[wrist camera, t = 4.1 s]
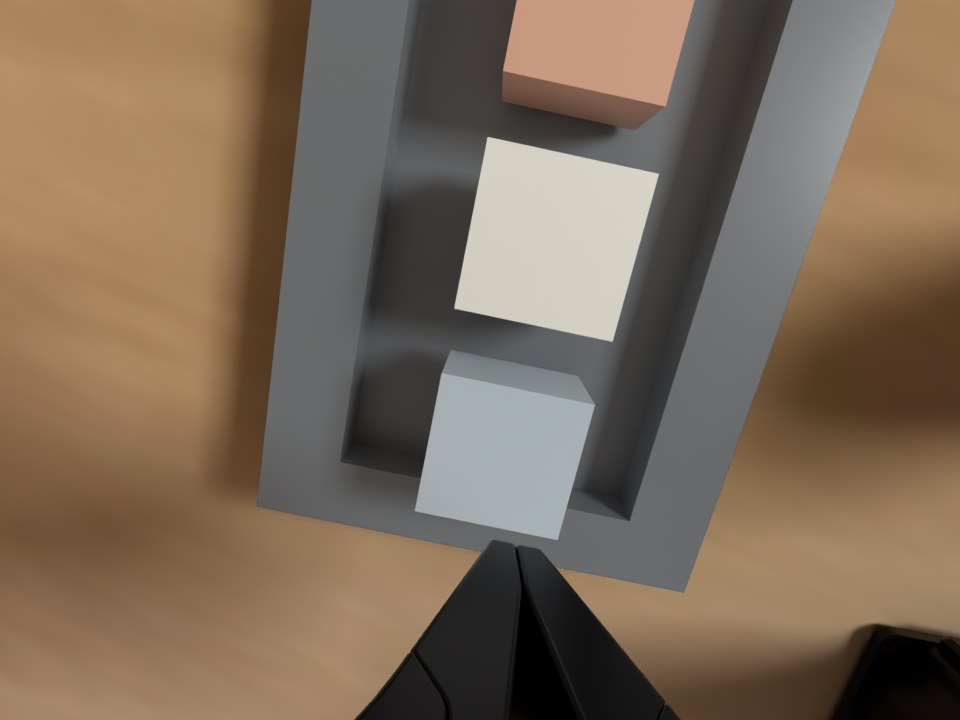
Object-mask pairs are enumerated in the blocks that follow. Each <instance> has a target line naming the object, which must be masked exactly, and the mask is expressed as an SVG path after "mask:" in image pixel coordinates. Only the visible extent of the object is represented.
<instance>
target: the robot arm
mask: <svg viewBox="0 0 960 720" xmlns="http://www.w3.org/2000/svg"><path fill="white" fill-rule="evenodd" d="M664 704H665V701H664V699H663V698H662V696H661V695H660V694H659V693H658V692H657V690H656V689H655V688H654V687H653V685H652V684H651V683H650V682H649V681H648V679H647V678H646V677H645V676H644V675H643V673H642V672H641V671H640V670H639V668H638V667H637V666H636V665H635V664H634V662H633V661H632V660H631V659H630V658H629V656H628V655H627V654H626V653H625V651H624V650H623V649H622V648H621V647H620V645H619V644H618V643H617V642H616V641H615V639H614V638H613V637H612V636H611V634H610V633H609V632H608V631H607V630H606V628H605V627H604V626H603V625H602V623H601V622H600V621H599V620H598V619H597V617H596V616H595V615H594V614H593V613H592V611H591V610H590V609H589V608H588V606H587V605H586V604H585V603H584V602H583V600H582V599H581V598H580V597H579V596H578V594H577V593H576V592H575V591H574V589H573V588H572V587H571V586H570V585H569V583H568V582H567V581H566V580H565V579H564V577H563V576H562V575H561V574H560V572H559V571H558V570H557V569H556V568H555V566H554V565H553V564H552V563H551V562H550V560H549V559H548V558H547V557H546V555H545V554H544V553H543V552H542V551H541V550H540V549H539V548H536V547H531V546H526V545H517V546H516V547H515V545H514V544H513V543H511V542H506V541H501V540H496V539H493V540H491V541H490V542H489V543H488V545H487V546H486V547H485V549H484V550H483V552H482V553H481V554H480V556H479V557H478V558H477V560H476V561H475V563H474V564H473V565H472V567H471V568H470V570H469V571H468V572H467V574H466V575H465V576H464V578H463V579H462V581H461V582H460V583H459V585H458V586H457V587H456V589H455V590H454V592H453V593H452V594H451V596H450V597H449V598H448V600H447V601H446V603H445V604H444V605H443V607H442V608H441V609H440V611H439V612H438V614H437V615H436V616H435V618H434V619H433V620H432V622H431V623H430V625H429V626H428V627H427V629H426V630H425V631H424V633H423V634H422V636H421V637H420V638H419V640H418V641H417V643H416V644H415V645H414V647H413V648H412V649H411V651H410V653H409V654H407V656H406V657H405V659H404V660H403V661H402V663H401V664H400V665H399V667H398V668H397V670H396V671H395V672H394V673H393V675H392V676H391V677H390V679H389V680H388V681H387V682H386V684H385V685H384V686H383V687H382V689H381V690H380V691H379V692H378V694H377V695H376V696H375V697H374V699H373V700H372V701H371V702H370V703H369V704H368V705H367V706H366V707H365V708H364V709H363V711H362V712H361V713H360V714H359V715H358V716H357V717H356V718H355V719H354V720H681V719H680V718H679V717H678V716H677V714H676V713H675V712H674V711H673V710H672V708H671V707H670V706H669V705H664ZM832 720H960V639H958V638H953V637H949V638H944V637H939V636H934V635H929V634H924V633H919V632H914V631H909V630H904V629H899V628H894V627H882V628H879V629H878V630H876V631H875V632H874V634H873V635H872V637H871V639H870V642H869V644H868V646H867V648H866V650H865V652H864V654H863V656H862V658H861V660H860V663H859V665H858V667H857V669H856V671H855V673H854V675H853V677H852V679H851V681H850V684H849V686H848V688H847V690H846V692H845V694H844V696H843V698H842V700H841V702H840V704H839V707H838V709H837V711H836V713H835V715H834V717H833V719H832Z"/></svg>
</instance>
